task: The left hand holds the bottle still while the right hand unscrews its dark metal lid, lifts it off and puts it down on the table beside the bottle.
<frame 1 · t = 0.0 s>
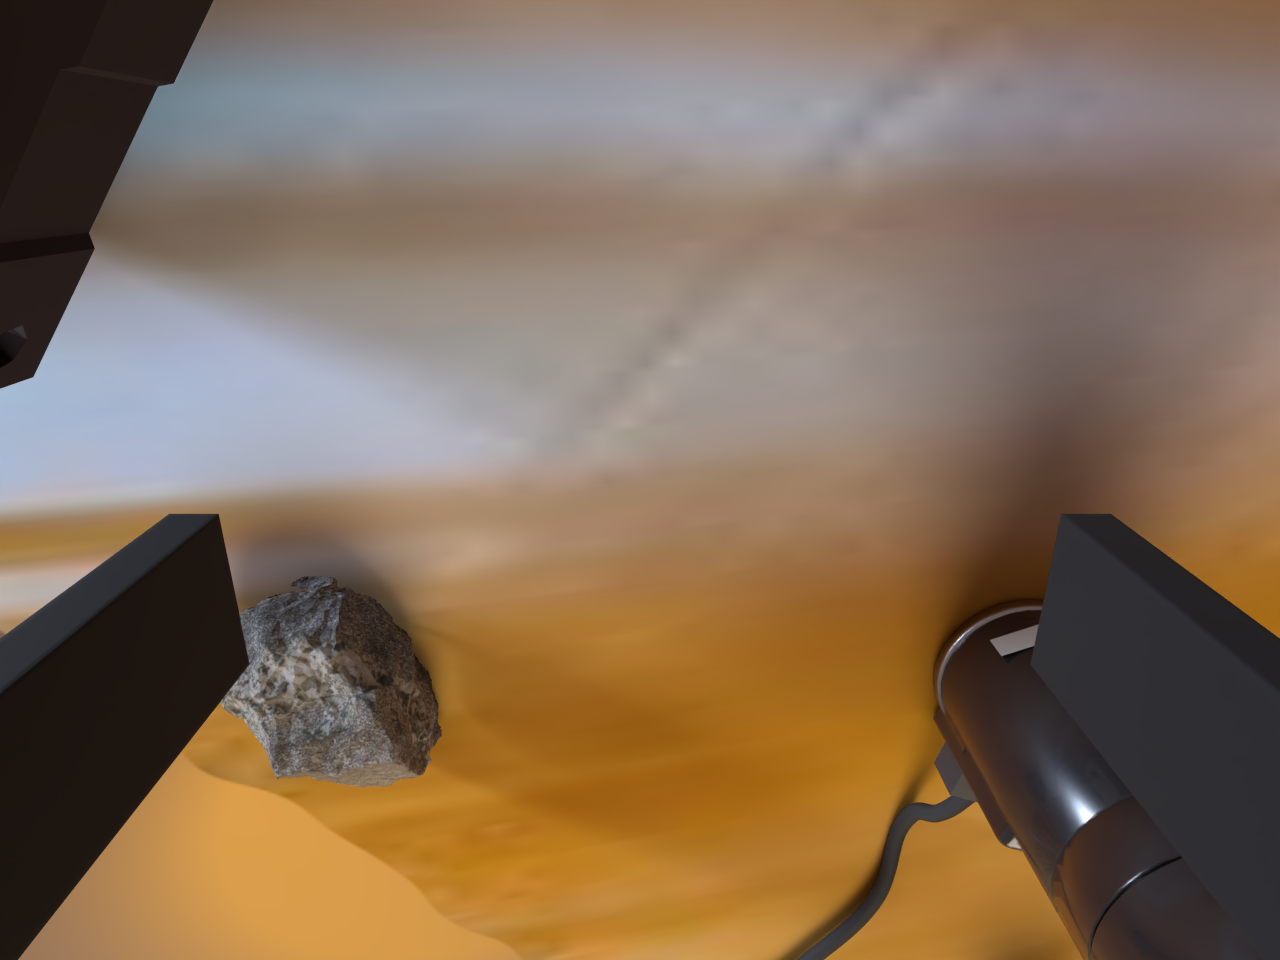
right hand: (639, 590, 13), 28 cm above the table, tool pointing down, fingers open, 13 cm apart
rock: (354, 655, 46), on the table
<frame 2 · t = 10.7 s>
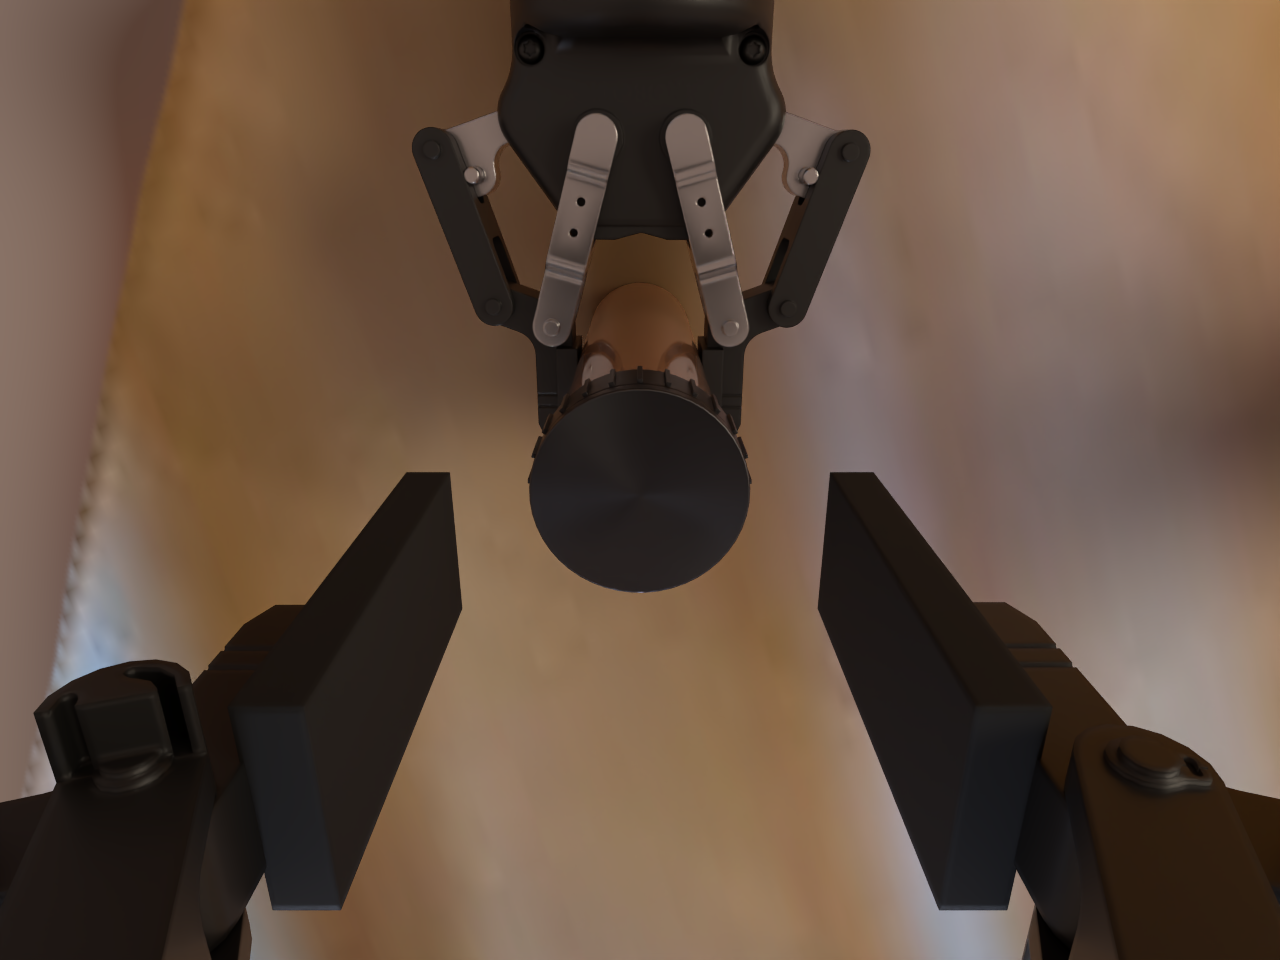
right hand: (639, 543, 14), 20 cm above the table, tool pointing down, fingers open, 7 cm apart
left hand: (640, 445, 28), fingers closed on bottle, 4 cm apart
lid: (639, 489, 17), point 17 cm above the table, screwed on, not yet turned
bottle: (639, 332, 33), on the table, touching left hand
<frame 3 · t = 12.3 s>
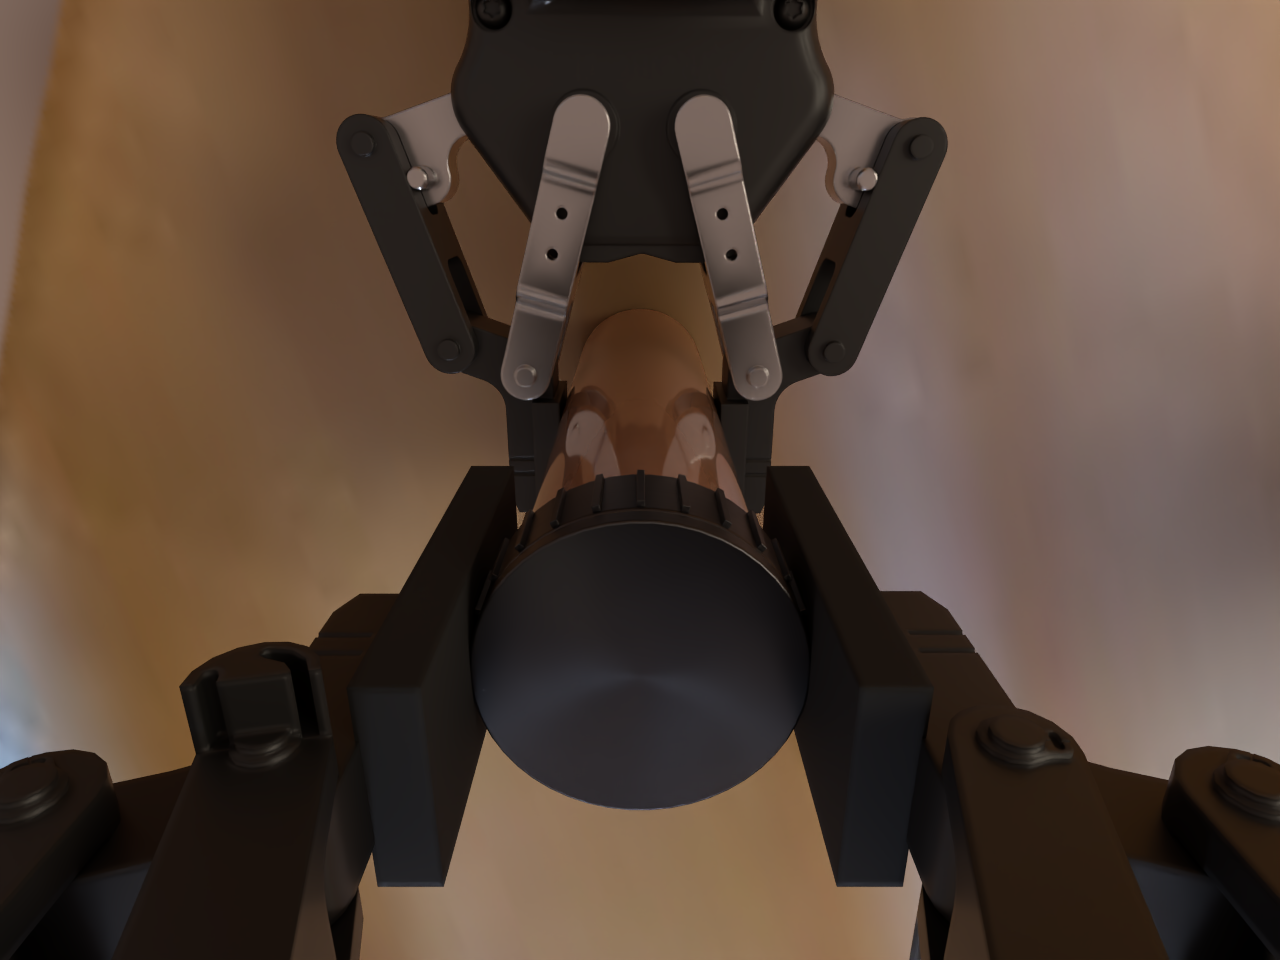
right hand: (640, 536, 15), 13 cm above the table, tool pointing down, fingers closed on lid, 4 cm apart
left hand: (640, 519, 22), fingers closed on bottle, 4 cm apart
lid: (640, 662, 11), point 17 cm above the table, screwed on, not yet turned, touching right hand
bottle: (640, 369, 27), on the table, touching left hand
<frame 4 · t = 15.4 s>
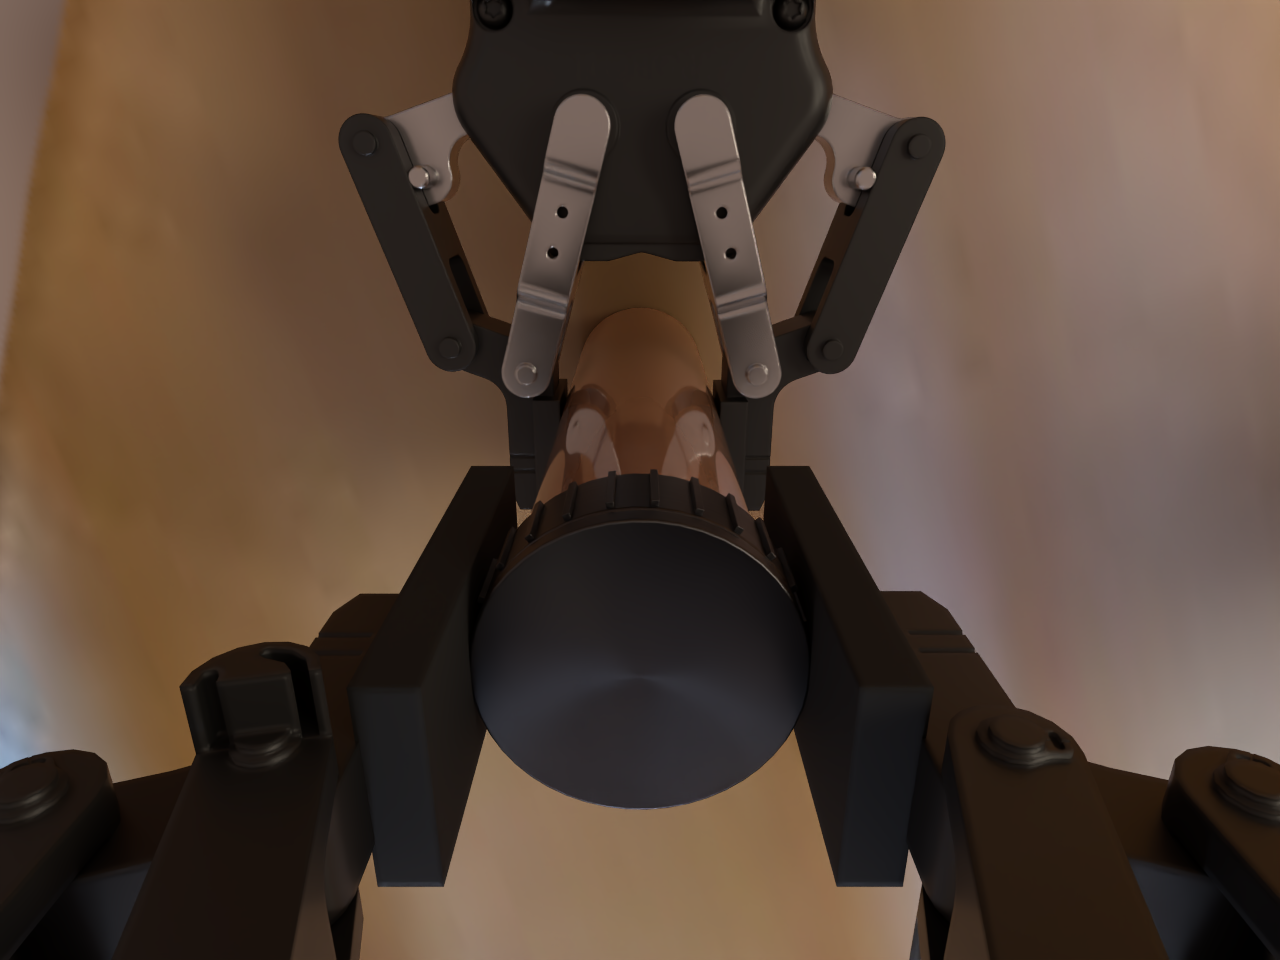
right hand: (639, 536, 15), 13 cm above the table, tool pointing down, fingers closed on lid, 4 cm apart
left hand: (640, 516, 22), fingers closed on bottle, 4 cm apart
lid: (640, 661, 11), point 17 cm above the table, turned 82° so far, risen 0.1 cm, still on its thread, touching right hand
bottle: (640, 367, 27), on the table, touching left hand
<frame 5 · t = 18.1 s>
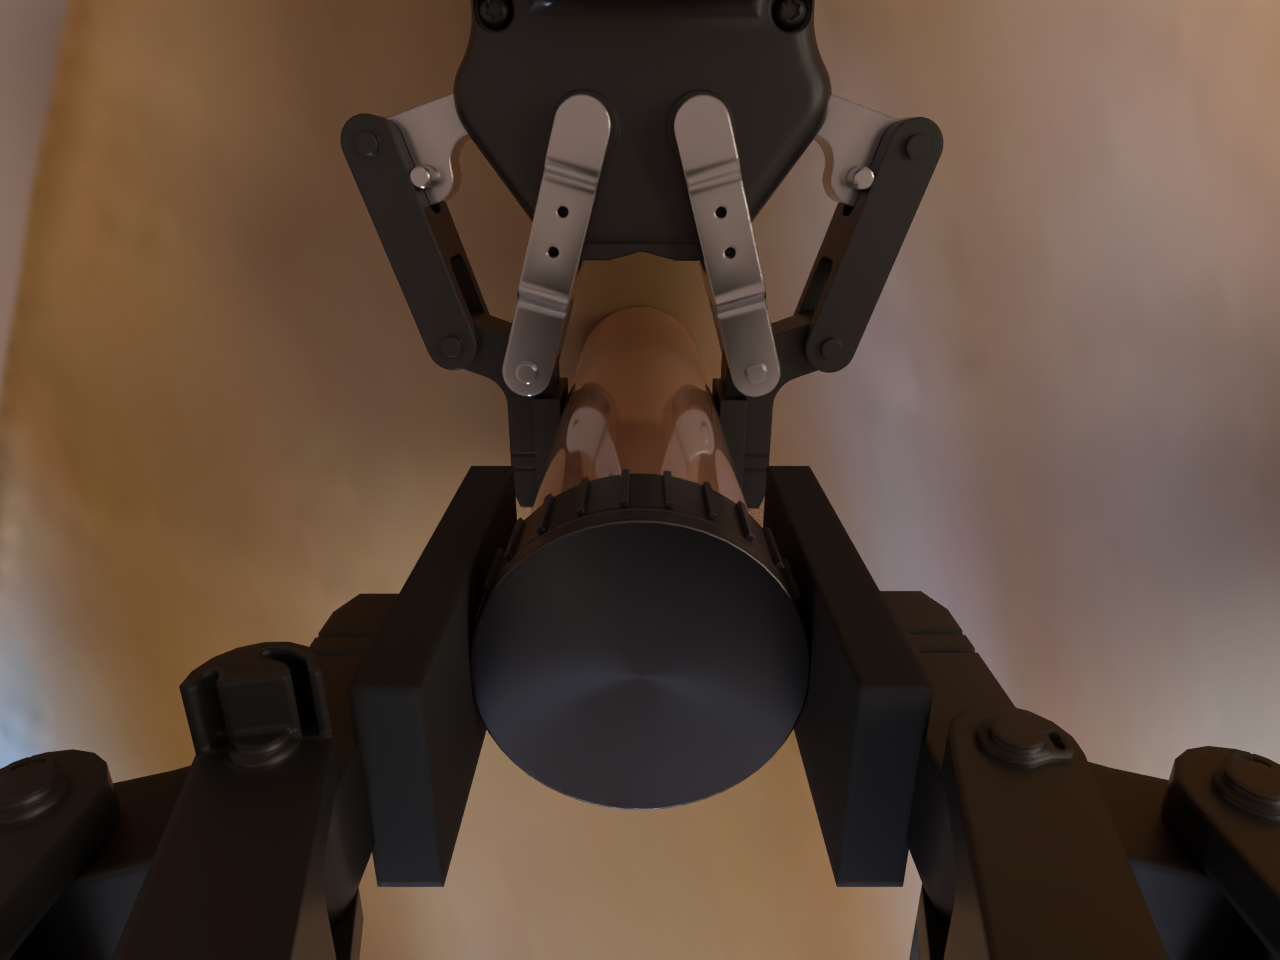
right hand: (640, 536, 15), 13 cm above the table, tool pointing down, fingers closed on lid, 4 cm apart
left hand: (640, 514, 22), fingers closed on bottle, 4 cm apart
lid: (639, 661, 11), point 17 cm above the table, turned 163° so far, risen 0.3 cm, still on its thread, touching right hand
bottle: (640, 366, 27), on the table, touching left hand
when the right hand's fingers open (0 cm above the table, at t = 30.2 s): lid drops 3 cm, point 1 cm above the table.
when the left hand's fingers open (6 cm above the table, at t = 30.8 s): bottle stays where it is, on the table.
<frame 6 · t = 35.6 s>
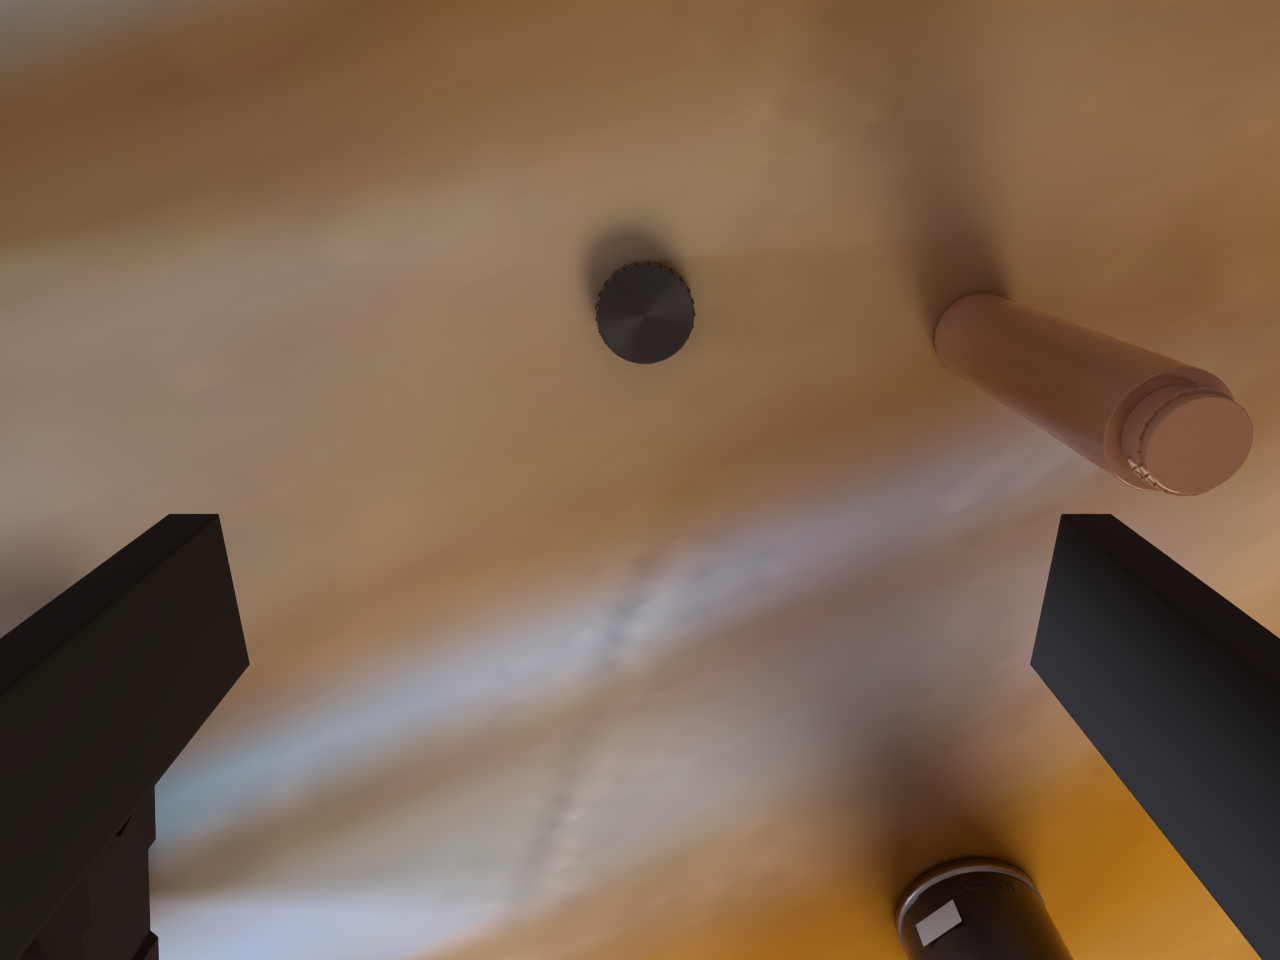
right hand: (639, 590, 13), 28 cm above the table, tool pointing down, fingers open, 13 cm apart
lid: (645, 314, 38), point 1 cm above the table, off its thread
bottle: (975, 334, 39), on the table
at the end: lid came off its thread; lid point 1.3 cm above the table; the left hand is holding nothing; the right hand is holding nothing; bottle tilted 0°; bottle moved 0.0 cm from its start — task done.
